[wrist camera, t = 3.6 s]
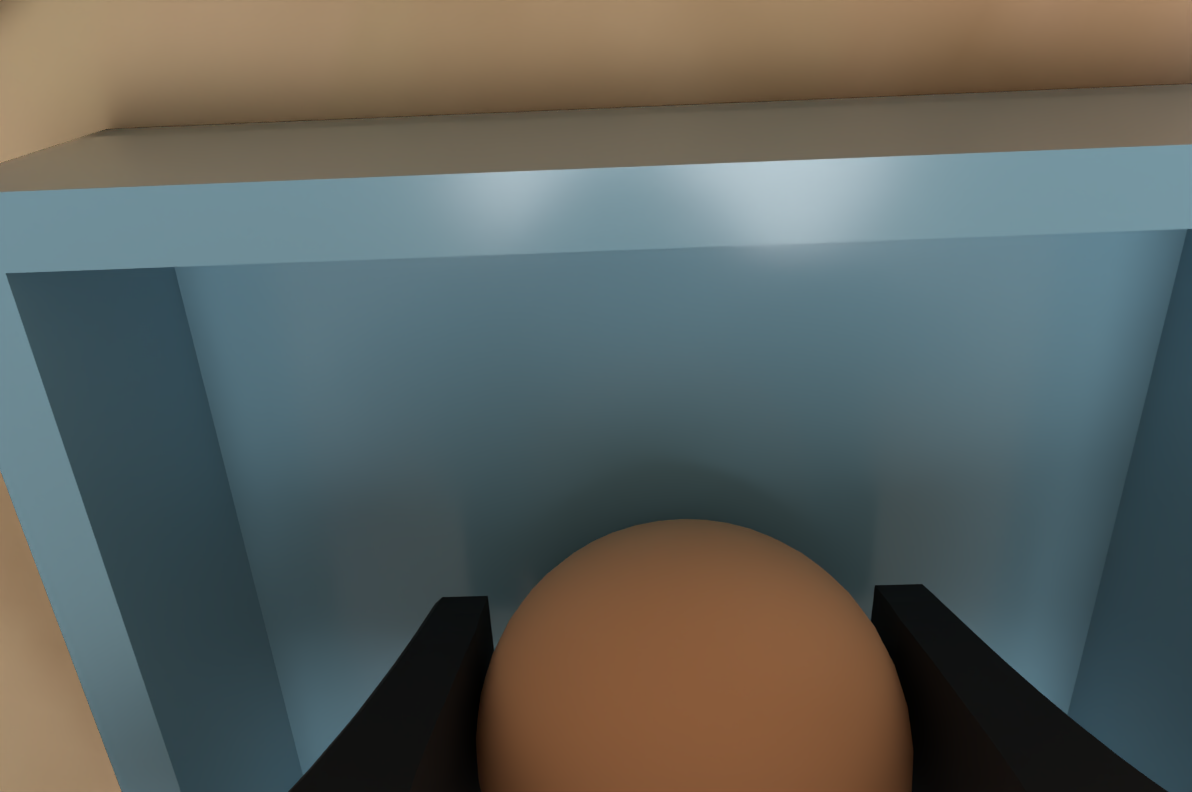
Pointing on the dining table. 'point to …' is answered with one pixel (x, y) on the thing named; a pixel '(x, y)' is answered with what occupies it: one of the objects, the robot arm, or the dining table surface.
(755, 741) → the ball
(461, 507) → the open square box
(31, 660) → the dining table surface
